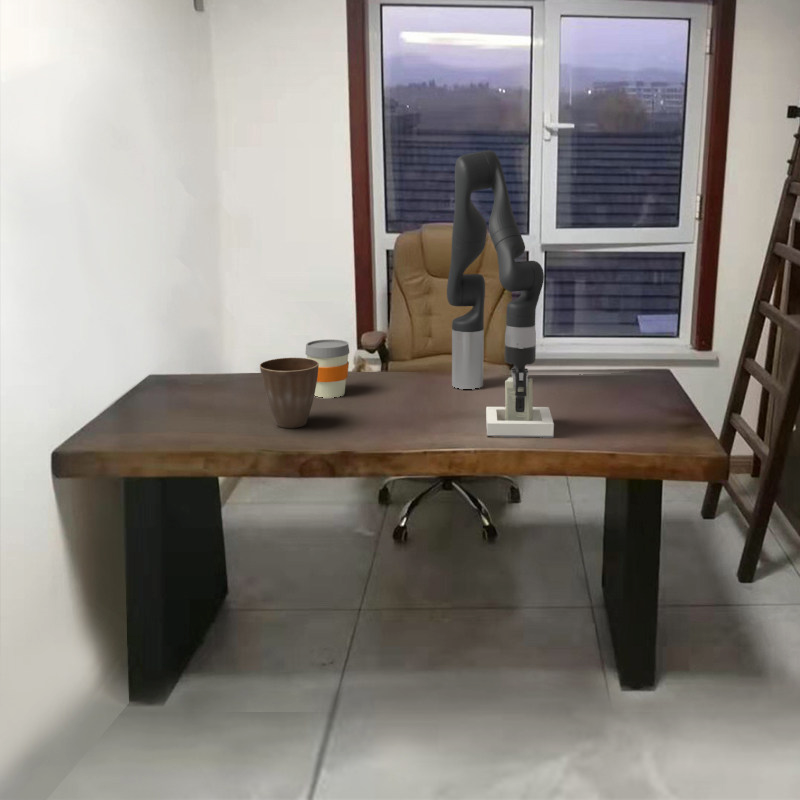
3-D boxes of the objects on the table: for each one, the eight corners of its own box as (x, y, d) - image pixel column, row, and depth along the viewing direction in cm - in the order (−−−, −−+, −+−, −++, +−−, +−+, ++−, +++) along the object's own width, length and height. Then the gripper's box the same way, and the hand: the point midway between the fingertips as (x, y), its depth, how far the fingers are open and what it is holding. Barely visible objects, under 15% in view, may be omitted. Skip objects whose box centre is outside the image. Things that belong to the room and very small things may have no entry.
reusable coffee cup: (354, 389, 267) (352, 339, 263) (346, 400, 255) (344, 348, 251) (312, 388, 269) (310, 339, 265) (302, 399, 257) (300, 347, 253)
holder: (486, 419, 235) (486, 406, 234) (548, 420, 233) (548, 407, 233) (487, 437, 220) (487, 423, 219) (553, 437, 219) (553, 423, 218)
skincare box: (533, 425, 228) (534, 378, 224) (529, 430, 224) (530, 382, 220) (508, 423, 230) (508, 376, 227) (504, 427, 226) (504, 380, 223)
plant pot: (332, 420, 236) (330, 360, 232) (299, 435, 223) (296, 373, 219) (285, 413, 243) (282, 355, 239) (251, 428, 231) (247, 367, 226)
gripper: (503, 337, 228) (502, 399, 233) (506, 349, 215) (504, 414, 219) (533, 337, 228) (532, 399, 232) (537, 349, 214) (536, 415, 218)
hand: (519, 406), depth 225 cm, fingers open, 8 cm apart
